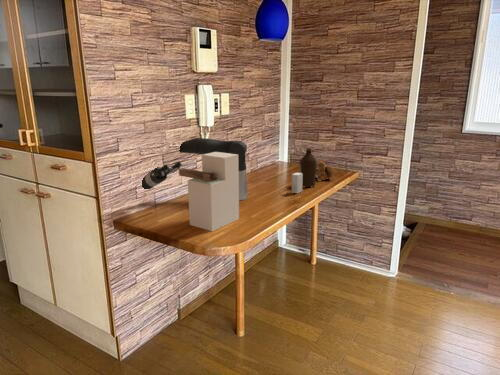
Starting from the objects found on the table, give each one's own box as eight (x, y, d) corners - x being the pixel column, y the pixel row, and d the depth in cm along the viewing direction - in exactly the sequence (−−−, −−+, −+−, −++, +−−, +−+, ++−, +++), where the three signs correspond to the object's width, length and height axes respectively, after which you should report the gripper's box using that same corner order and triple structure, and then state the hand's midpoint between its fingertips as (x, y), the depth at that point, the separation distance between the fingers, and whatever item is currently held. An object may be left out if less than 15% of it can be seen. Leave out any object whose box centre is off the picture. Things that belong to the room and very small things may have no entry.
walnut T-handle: (186, 173, 180) (185, 167, 179) (217, 179, 169) (216, 173, 168) (176, 176, 175) (176, 169, 175) (208, 182, 164) (208, 175, 163)
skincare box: (296, 191, 230) (297, 172, 227) (302, 192, 227) (303, 173, 224) (291, 193, 225) (291, 174, 222) (297, 194, 223) (297, 175, 220)
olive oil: (317, 184, 244) (318, 147, 238) (313, 188, 235) (315, 149, 228) (301, 183, 248) (302, 146, 242) (297, 187, 239) (298, 148, 232)
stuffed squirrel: (311, 178, 262) (312, 160, 259) (330, 177, 263) (331, 159, 260) (315, 181, 252) (316, 162, 249) (335, 181, 254) (336, 162, 250)
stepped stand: (217, 213, 190) (215, 151, 182) (239, 218, 182) (238, 154, 174) (189, 224, 174) (186, 158, 166) (212, 231, 167) (209, 161, 158)
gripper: (141, 172, 184) (159, 159, 174) (163, 167, 195) (181, 155, 185) (147, 186, 183) (166, 174, 173) (169, 180, 194) (187, 169, 184)
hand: (174, 164), depth 179 cm, fingers open, 8 cm apart
